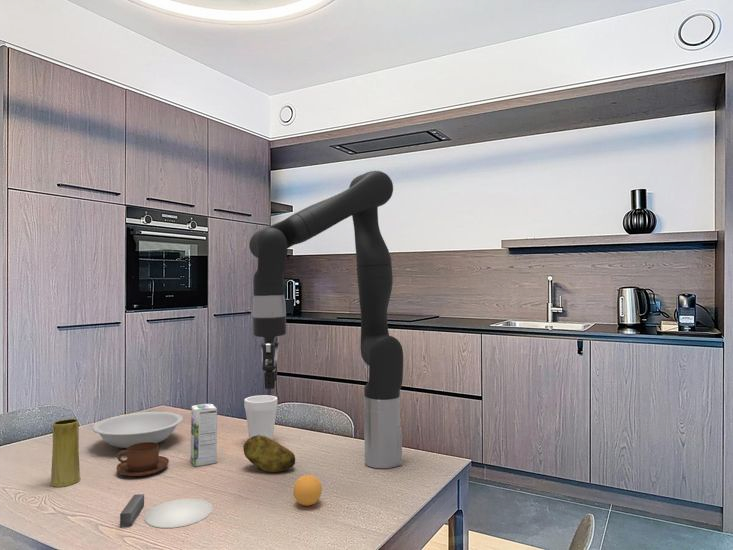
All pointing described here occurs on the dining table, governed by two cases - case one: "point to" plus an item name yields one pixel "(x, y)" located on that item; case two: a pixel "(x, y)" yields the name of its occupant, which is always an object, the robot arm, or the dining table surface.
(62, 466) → the vase
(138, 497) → the strip
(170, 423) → the soup bowl
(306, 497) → the ball
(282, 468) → the potato
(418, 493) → the dining table surface
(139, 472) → the cup and saucer
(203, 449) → the syrup box
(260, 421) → the foam cup
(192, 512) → the white flat disc
